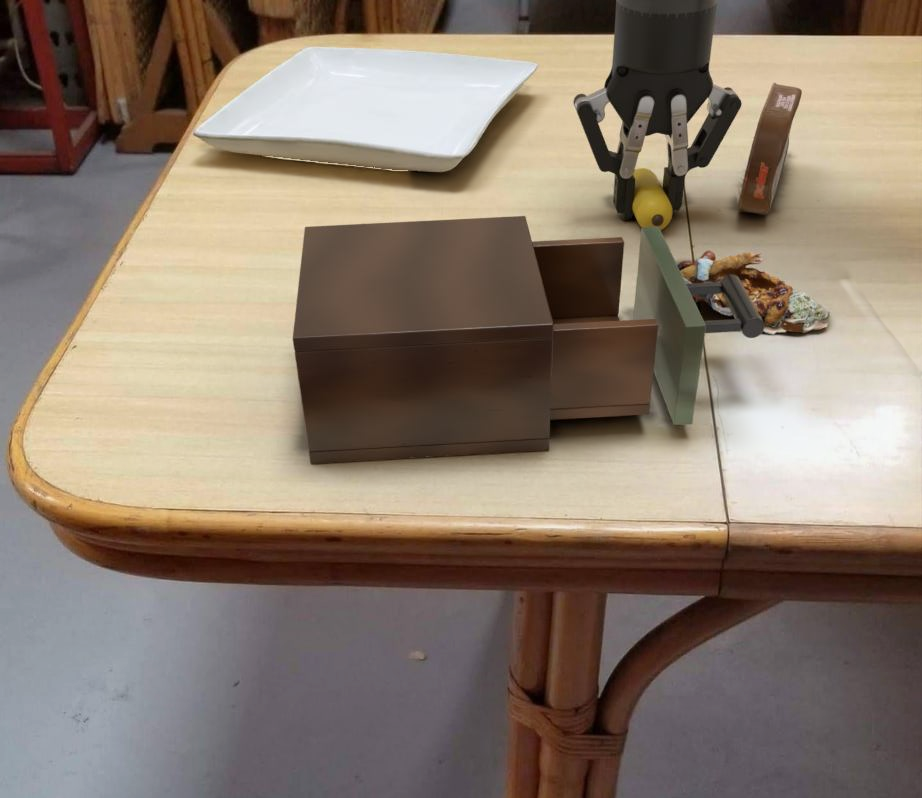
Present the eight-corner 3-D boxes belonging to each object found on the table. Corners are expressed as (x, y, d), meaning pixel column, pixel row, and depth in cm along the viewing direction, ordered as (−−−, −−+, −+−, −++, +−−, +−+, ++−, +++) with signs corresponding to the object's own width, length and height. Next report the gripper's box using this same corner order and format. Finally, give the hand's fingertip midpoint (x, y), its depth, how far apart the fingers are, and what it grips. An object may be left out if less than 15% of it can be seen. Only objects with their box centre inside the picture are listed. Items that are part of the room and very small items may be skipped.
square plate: (309, 77, 122) (304, 41, 120) (540, 96, 116) (541, 58, 113) (194, 165, 103) (186, 124, 100) (464, 194, 96) (463, 151, 94)
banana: (653, 195, 95) (656, 161, 93) (675, 238, 88) (678, 203, 86) (620, 196, 95) (622, 163, 93) (639, 240, 88) (642, 205, 86)
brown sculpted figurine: (824, 343, 75) (834, 297, 73) (654, 319, 78) (659, 274, 76) (832, 298, 80) (842, 253, 78) (672, 277, 83) (677, 233, 81)
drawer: (717, 313, 77) (730, 222, 72) (770, 420, 67) (790, 321, 62) (460, 327, 76) (458, 235, 72) (474, 436, 66) (472, 338, 61)
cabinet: (523, 331, 77) (525, 215, 72) (549, 450, 66) (553, 324, 61) (319, 342, 77) (304, 226, 71) (310, 464, 66) (292, 338, 60)
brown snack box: (756, 162, 100) (771, 68, 95) (790, 166, 99) (808, 71, 94) (731, 228, 90) (747, 126, 84) (770, 233, 89) (788, 130, 83)
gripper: (581, 13, 78) (571, 238, 89) (773, 5, 78) (738, 230, 89) (567, -14, 83) (559, 201, 94) (745, -21, 84) (716, 194, 95)
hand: (646, 214), depth 92 cm, fingers closed on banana, 3 cm apart
